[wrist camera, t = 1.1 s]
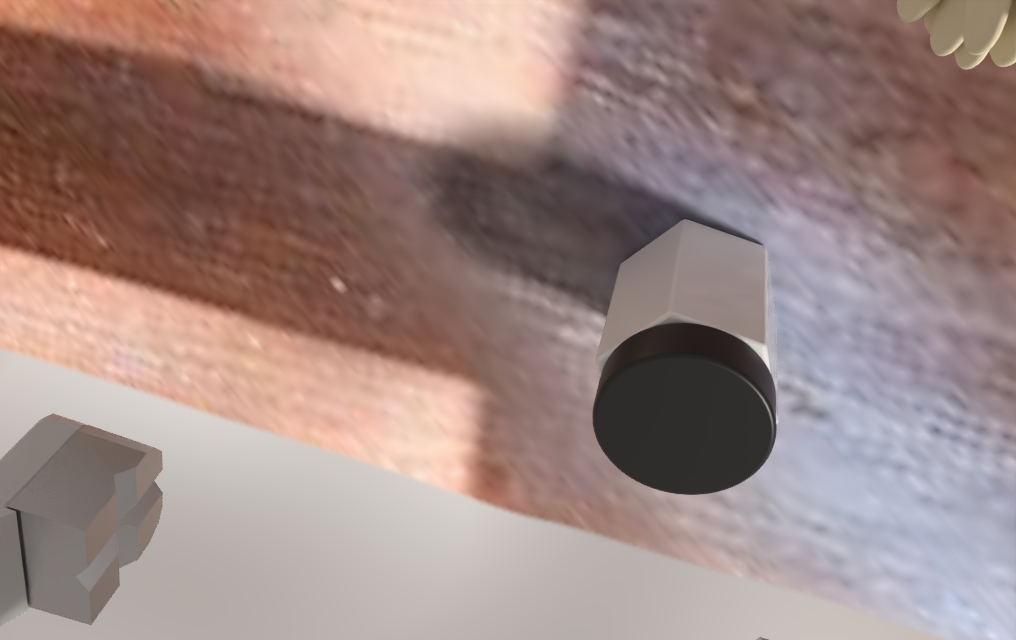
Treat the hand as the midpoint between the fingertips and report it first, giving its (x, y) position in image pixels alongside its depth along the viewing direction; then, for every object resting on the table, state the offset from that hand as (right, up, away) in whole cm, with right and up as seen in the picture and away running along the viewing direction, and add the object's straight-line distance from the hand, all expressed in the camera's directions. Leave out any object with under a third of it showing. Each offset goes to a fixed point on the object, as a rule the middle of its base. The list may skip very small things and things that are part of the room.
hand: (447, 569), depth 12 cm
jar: (+11, +5, +39) cm, 41 cm away
